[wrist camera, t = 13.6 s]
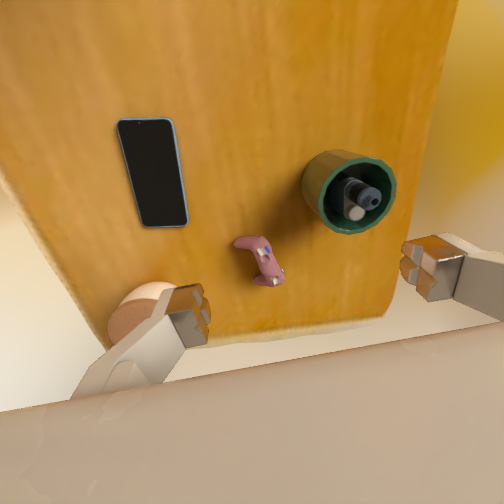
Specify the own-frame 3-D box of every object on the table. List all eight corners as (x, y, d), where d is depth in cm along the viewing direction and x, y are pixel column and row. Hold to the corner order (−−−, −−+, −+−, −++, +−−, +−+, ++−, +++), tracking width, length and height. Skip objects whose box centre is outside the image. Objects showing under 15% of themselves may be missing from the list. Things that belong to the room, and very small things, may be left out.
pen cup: (297, 157, 34) (315, 167, 26) (362, 142, 33) (400, 149, 26) (303, 216, 38) (320, 240, 30) (360, 204, 38) (392, 226, 30)
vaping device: (342, 167, 34) (389, 187, 23) (341, 202, 36) (383, 235, 26) (324, 170, 34) (363, 192, 24) (325, 205, 37) (359, 239, 26)
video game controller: (272, 270, 45) (294, 283, 39) (253, 284, 44) (273, 300, 38) (251, 226, 40) (272, 234, 34) (229, 240, 39) (247, 251, 33)
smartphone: (142, 228, 37) (112, 118, 30) (144, 226, 38) (116, 118, 30) (189, 226, 37) (172, 117, 30) (190, 224, 38) (173, 117, 31)
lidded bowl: (132, 319, 47) (105, 370, 37) (127, 265, 41) (92, 309, 31) (197, 323, 48) (187, 374, 39) (200, 272, 42) (189, 317, 33)
